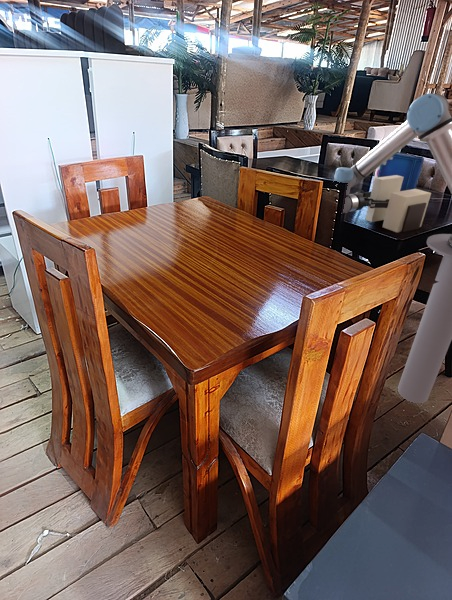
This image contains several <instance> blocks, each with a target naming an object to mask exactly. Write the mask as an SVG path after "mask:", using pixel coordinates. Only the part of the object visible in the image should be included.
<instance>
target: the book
mask: <svg viewBox="0 0 452 600" xmlns="http://www.w3.org/2000/svg"><path fill="white" fill-rule="evenodd" d="M424 161H425V158H424V156H418V155H415V154H412V153H406V152H400V151H398V152H397V153H396V154H394V155H393V156H392V157H391V158H389V159H388V160H387V161H385V162H384V163H383V164H382V165H380V169H379V173H378V177H385V176H393V175H398V176H402V177H404V178H403V182H402V185H401V189H400V191H405V190H411V189H417V188H416V187H417V185H418V181H419V177H420V174H421V171H422V167H423V165H424Z"/></svg>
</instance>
